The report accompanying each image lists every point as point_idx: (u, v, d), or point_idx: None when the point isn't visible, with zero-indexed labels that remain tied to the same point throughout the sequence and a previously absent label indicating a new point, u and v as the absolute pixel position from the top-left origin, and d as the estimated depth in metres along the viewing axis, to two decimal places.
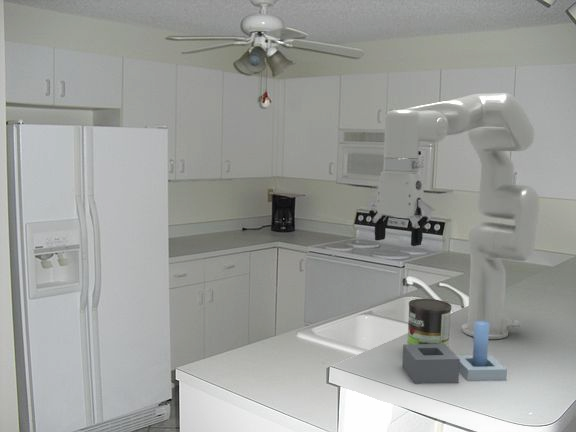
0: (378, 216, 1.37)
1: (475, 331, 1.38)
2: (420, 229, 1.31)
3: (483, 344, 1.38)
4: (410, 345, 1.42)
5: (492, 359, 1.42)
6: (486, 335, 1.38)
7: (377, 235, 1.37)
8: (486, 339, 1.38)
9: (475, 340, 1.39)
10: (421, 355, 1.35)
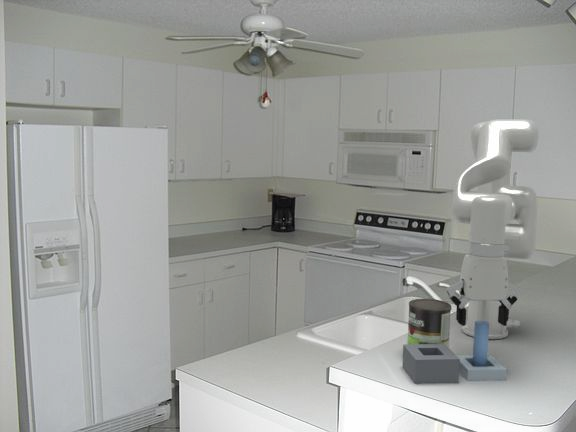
0: (466, 301, 1.36)
1: (475, 331, 1.38)
2: None
3: (483, 344, 1.38)
4: (410, 345, 1.42)
5: (492, 359, 1.42)
6: (486, 335, 1.38)
7: (465, 321, 1.36)
8: (486, 339, 1.38)
9: (475, 340, 1.39)
10: (421, 355, 1.35)
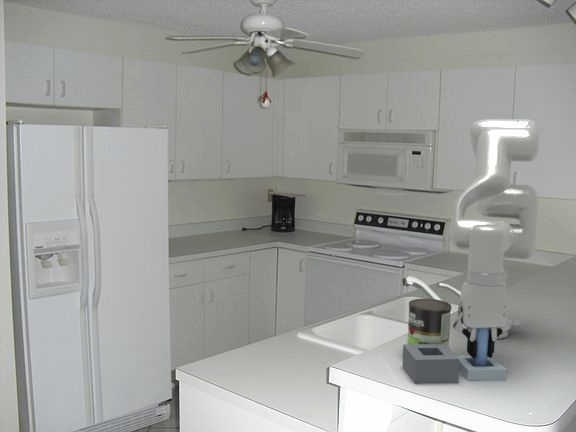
0: (474, 333, 1.37)
1: None
2: None
3: (483, 344, 1.38)
4: (410, 345, 1.42)
5: (492, 359, 1.42)
6: (486, 335, 1.38)
7: (476, 353, 1.38)
8: (486, 339, 1.38)
9: (475, 340, 1.39)
10: (421, 355, 1.35)
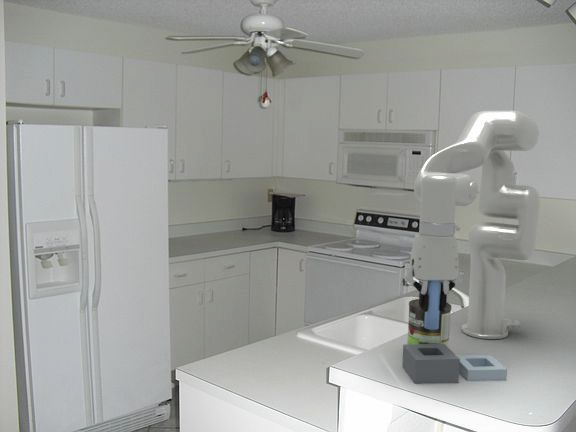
0: (425, 285, 1.34)
1: None
2: None
3: (435, 297, 1.34)
4: (410, 345, 1.42)
5: (492, 359, 1.42)
6: (438, 288, 1.34)
7: (427, 306, 1.35)
8: (438, 292, 1.34)
9: (427, 293, 1.35)
10: (421, 355, 1.35)
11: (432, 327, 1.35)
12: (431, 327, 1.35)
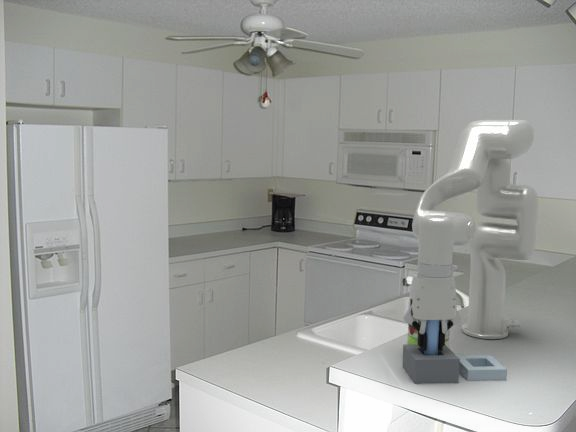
0: (423, 325, 1.36)
1: (426, 324, 1.36)
2: None
3: (434, 336, 1.36)
4: (410, 345, 1.42)
5: (492, 359, 1.42)
6: (436, 328, 1.36)
7: (426, 346, 1.36)
8: (436, 332, 1.36)
9: None
10: (421, 355, 1.35)
11: None
12: None
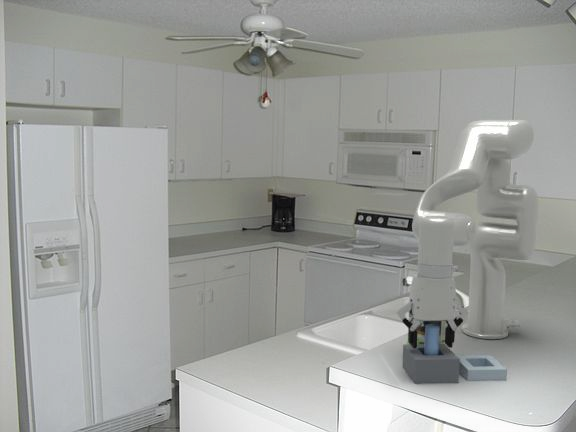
0: (416, 323, 1.35)
1: (426, 335, 1.37)
2: None
3: (434, 348, 1.36)
4: (410, 345, 1.42)
5: (492, 359, 1.42)
6: (436, 339, 1.36)
7: (416, 343, 1.36)
8: (436, 343, 1.36)
9: (425, 344, 1.37)
10: (421, 355, 1.35)
11: None
12: None
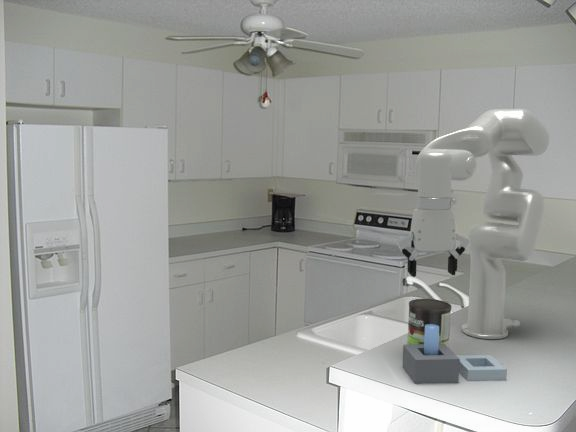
0: (416, 253, 1.42)
1: (425, 335, 1.37)
2: None
3: (433, 348, 1.36)
4: (410, 345, 1.42)
5: (492, 359, 1.42)
6: (436, 339, 1.36)
7: (415, 272, 1.42)
8: (436, 343, 1.36)
9: (425, 344, 1.37)
10: (421, 355, 1.35)
11: None
12: None
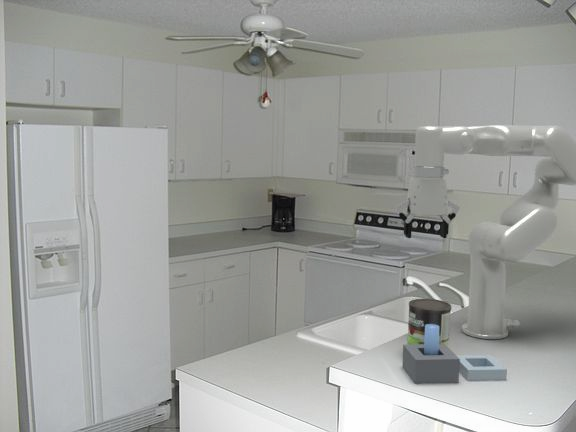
0: (411, 217, 1.58)
1: (425, 335, 1.37)
2: None
3: (433, 347, 1.36)
4: (410, 345, 1.42)
5: (492, 359, 1.42)
6: (436, 339, 1.36)
7: (410, 233, 1.59)
8: (436, 342, 1.36)
9: (425, 343, 1.37)
10: (421, 355, 1.35)
11: None
12: None
